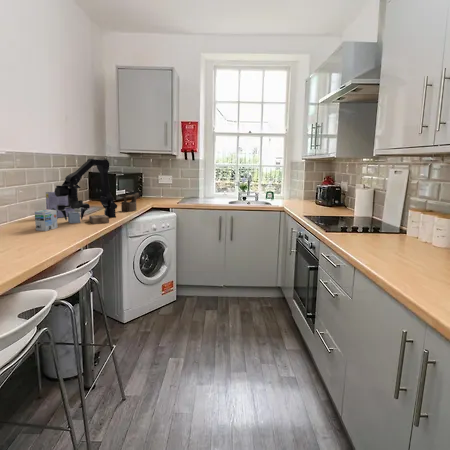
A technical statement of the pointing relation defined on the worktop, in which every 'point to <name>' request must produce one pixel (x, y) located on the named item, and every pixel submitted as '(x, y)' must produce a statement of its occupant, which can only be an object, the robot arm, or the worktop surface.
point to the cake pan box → (57, 203)
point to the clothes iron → (129, 203)
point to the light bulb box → (46, 220)
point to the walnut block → (99, 219)
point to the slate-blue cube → (74, 217)
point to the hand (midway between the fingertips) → (74, 220)
